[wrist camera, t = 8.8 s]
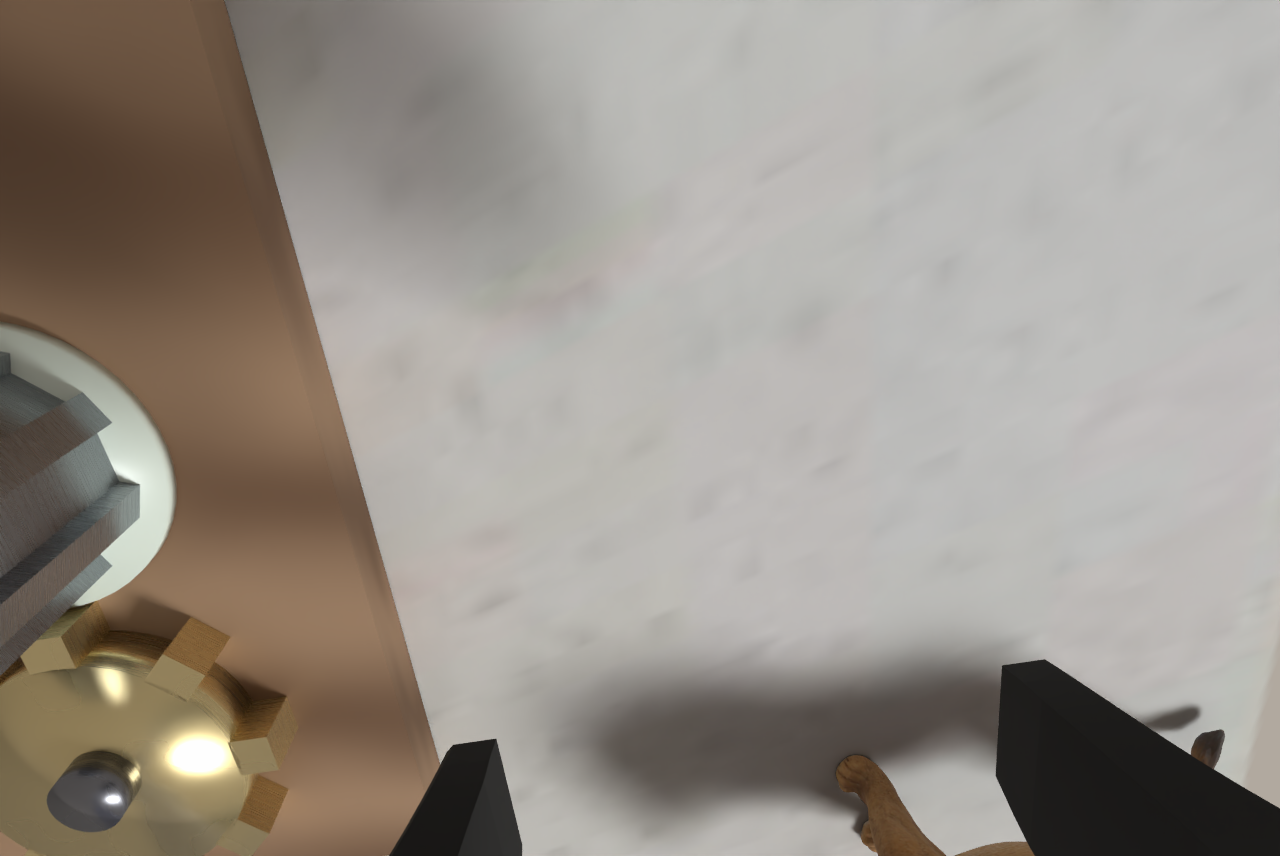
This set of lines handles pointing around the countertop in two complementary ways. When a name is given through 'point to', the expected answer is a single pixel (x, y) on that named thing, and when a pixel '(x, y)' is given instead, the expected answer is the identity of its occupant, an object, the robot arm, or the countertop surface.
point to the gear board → (189, 470)
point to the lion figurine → (898, 835)
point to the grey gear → (52, 507)
